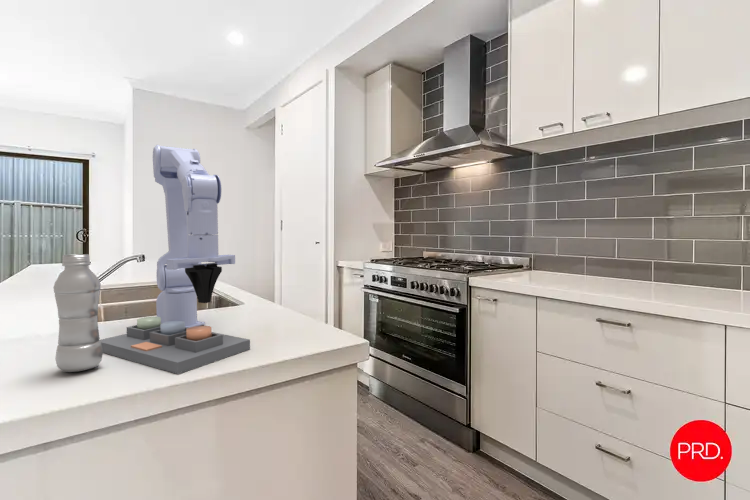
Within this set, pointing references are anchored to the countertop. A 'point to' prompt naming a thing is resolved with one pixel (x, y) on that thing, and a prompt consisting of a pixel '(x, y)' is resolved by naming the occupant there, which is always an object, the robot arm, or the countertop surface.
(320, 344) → the countertop surface
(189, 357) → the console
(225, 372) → the countertop surface
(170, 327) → the button slate
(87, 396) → the countertop surface
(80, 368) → the plastic bottle
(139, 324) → the button sage
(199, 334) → the button terracotta
